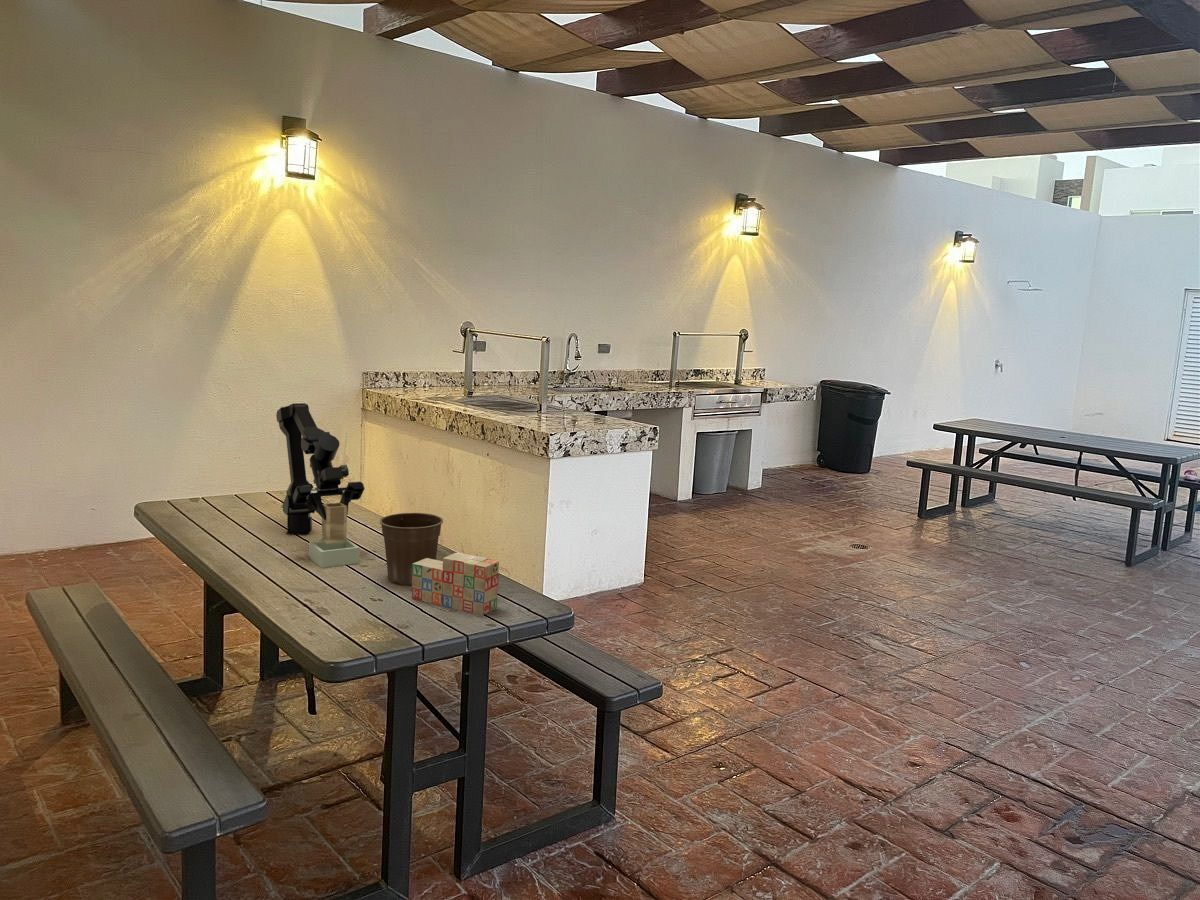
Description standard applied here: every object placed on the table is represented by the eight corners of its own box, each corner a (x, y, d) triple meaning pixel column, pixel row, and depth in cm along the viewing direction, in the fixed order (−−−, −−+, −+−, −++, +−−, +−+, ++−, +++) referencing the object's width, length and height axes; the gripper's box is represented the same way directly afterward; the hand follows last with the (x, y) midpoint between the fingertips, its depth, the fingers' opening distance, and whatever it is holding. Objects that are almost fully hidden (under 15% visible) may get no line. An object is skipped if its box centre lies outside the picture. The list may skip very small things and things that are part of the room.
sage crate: (309, 557, 257) (309, 542, 256) (346, 553, 263) (346, 538, 262) (321, 567, 248) (321, 551, 247) (359, 563, 254) (359, 547, 253)
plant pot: (387, 591, 232) (388, 529, 229) (372, 573, 246) (372, 514, 243) (449, 585, 239) (451, 524, 237) (431, 567, 254) (432, 510, 251)
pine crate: (321, 539, 255) (322, 504, 253) (340, 537, 258) (341, 502, 256) (327, 543, 251) (327, 507, 249) (346, 541, 254) (346, 506, 252)
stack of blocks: (410, 599, 227) (411, 551, 225) (426, 593, 232) (427, 545, 230) (483, 616, 218) (485, 566, 216) (497, 609, 223) (499, 560, 221)
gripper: (295, 457, 249) (308, 505, 241) (362, 453, 259) (376, 499, 252) (287, 479, 256) (299, 527, 249) (352, 475, 267) (365, 521, 260)
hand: (335, 518), depth 252 cm, fingers closed on pine crate, 5 cm apart
